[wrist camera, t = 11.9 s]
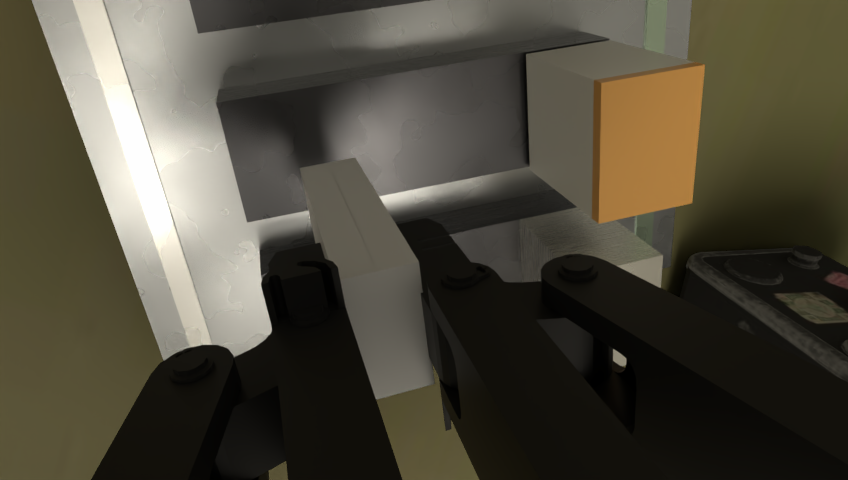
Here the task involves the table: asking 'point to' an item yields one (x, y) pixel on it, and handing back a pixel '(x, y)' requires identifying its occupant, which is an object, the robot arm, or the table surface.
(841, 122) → the table surface
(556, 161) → the block
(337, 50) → the panel
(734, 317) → the camera
